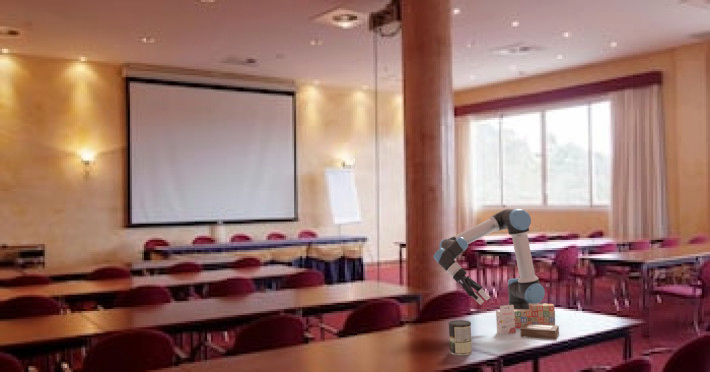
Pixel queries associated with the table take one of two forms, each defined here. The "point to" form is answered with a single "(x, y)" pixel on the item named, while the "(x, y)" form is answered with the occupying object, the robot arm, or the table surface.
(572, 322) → the table surface
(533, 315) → the stack of blocks
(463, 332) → the coffee can
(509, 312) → the ink cartridge box
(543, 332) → the walnut plinth
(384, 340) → the table surface
